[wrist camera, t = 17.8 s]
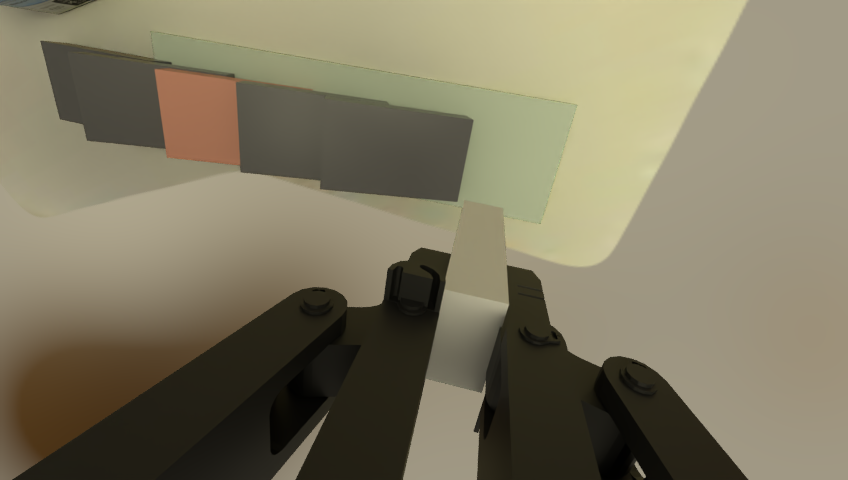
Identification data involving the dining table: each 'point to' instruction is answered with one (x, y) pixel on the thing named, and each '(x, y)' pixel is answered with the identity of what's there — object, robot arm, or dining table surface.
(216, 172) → the dining table surface
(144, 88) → the domino
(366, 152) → the domino
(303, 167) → the domino
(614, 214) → the dining table surface
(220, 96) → the orange domino
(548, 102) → the mat
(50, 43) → the domino
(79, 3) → the light bulb box
